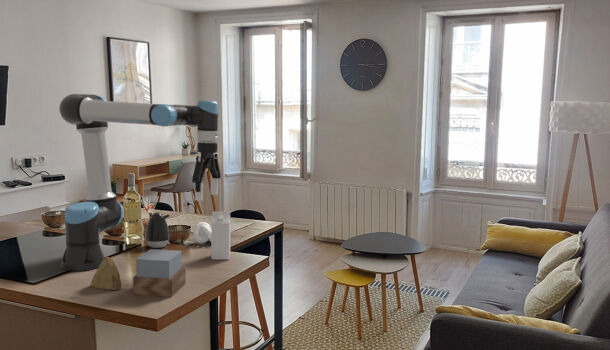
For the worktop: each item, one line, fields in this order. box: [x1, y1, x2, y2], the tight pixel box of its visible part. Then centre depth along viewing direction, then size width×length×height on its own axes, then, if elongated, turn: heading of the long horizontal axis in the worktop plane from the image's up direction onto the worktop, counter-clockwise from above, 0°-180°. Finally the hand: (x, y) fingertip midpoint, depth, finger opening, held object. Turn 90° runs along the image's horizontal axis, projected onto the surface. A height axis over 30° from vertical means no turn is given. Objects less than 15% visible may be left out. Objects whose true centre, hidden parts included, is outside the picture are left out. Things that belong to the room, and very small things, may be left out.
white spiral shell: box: [192, 221, 211, 245], centre depth 237 cm, size 11×12×9 cm
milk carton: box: [210, 211, 231, 261], centre depth 214 cm, size 7×7×19 cm
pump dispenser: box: [144, 212, 170, 249], centre depth 228 cm, size 10×10×15 cm
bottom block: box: [132, 267, 187, 298], centre depth 176 cm, size 13×13×6 cm
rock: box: [89, 255, 122, 291], centre depth 176 cm, size 11×9×10 cm
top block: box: [135, 248, 183, 279], centre depth 175 cm, size 11×12×6 cm
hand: (206, 197), depth 201 cm, fingers open, 13 cm apart
